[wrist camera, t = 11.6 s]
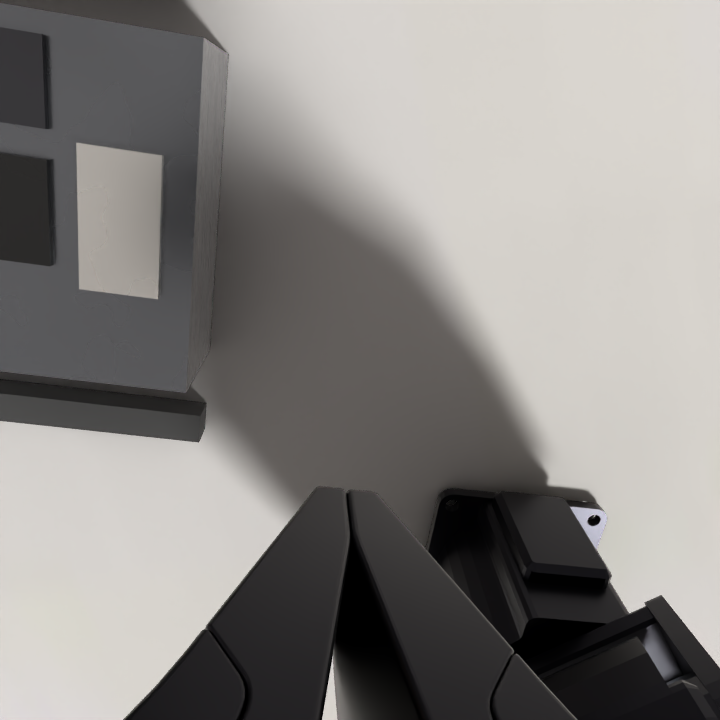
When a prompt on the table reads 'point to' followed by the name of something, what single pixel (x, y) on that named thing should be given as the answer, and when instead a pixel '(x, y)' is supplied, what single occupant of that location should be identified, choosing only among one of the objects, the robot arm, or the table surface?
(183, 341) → the strip
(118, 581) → the table surface
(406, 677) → the robot arm
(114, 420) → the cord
